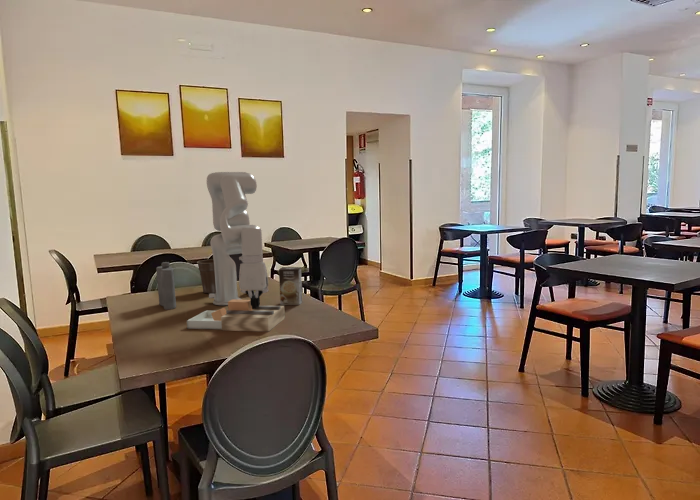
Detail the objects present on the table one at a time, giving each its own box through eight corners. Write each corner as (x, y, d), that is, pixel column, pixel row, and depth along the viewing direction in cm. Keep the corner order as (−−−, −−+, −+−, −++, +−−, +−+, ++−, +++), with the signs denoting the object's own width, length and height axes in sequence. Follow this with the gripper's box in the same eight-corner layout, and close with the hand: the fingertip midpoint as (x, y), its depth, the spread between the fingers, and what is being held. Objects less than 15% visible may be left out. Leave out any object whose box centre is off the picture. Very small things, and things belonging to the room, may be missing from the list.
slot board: (221, 330, 174) (220, 314, 173) (242, 317, 192) (241, 302, 191) (268, 331, 171) (267, 315, 170) (284, 318, 188) (284, 303, 188)
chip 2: (238, 312, 179) (237, 302, 179) (242, 309, 183) (241, 299, 183) (248, 312, 179) (247, 302, 178) (252, 309, 183) (251, 299, 182)
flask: (178, 308, 212) (175, 263, 209) (165, 310, 209) (161, 265, 206) (171, 302, 224) (168, 260, 222) (158, 304, 221) (154, 261, 219)
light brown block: (228, 312, 180) (227, 301, 180) (233, 309, 184) (232, 299, 184) (238, 312, 180) (237, 301, 179) (242, 309, 184) (242, 299, 183)
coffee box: (279, 305, 211) (277, 269, 209) (283, 301, 217) (281, 267, 215) (300, 305, 210) (298, 268, 208) (302, 301, 216) (301, 266, 214)
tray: (187, 328, 178) (186, 320, 178) (206, 317, 193) (206, 310, 193) (223, 329, 176) (223, 321, 175) (240, 318, 190) (240, 311, 190)
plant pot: (198, 290, 251) (195, 260, 249) (229, 287, 257) (227, 257, 255) (199, 296, 236) (197, 264, 234) (233, 292, 242) (231, 261, 240)
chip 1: (223, 319, 181) (215, 323, 182) (228, 317, 185) (220, 320, 186) (219, 309, 181) (211, 313, 182) (224, 307, 185) (216, 310, 186)
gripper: (229, 261, 176) (232, 309, 178) (268, 260, 173) (271, 310, 175) (238, 258, 183) (240, 305, 185) (275, 258, 180) (277, 305, 183)
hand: (255, 307), depth 180 cm, fingers closed
